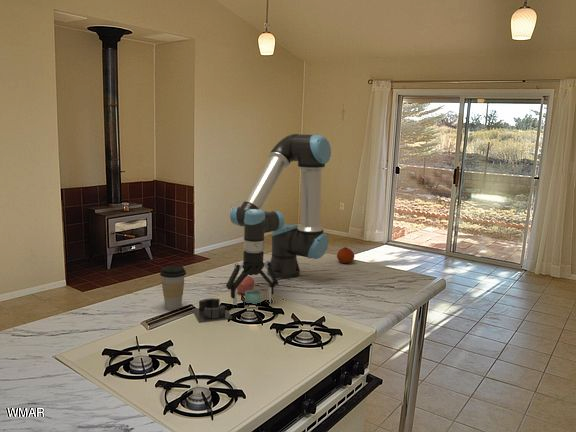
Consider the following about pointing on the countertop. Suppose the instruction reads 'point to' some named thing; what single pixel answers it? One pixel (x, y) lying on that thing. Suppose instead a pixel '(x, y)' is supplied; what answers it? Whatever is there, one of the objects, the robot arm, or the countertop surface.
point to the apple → (246, 285)
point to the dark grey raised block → (211, 311)
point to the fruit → (345, 255)
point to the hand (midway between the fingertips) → (252, 304)
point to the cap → (252, 296)
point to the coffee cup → (173, 286)
